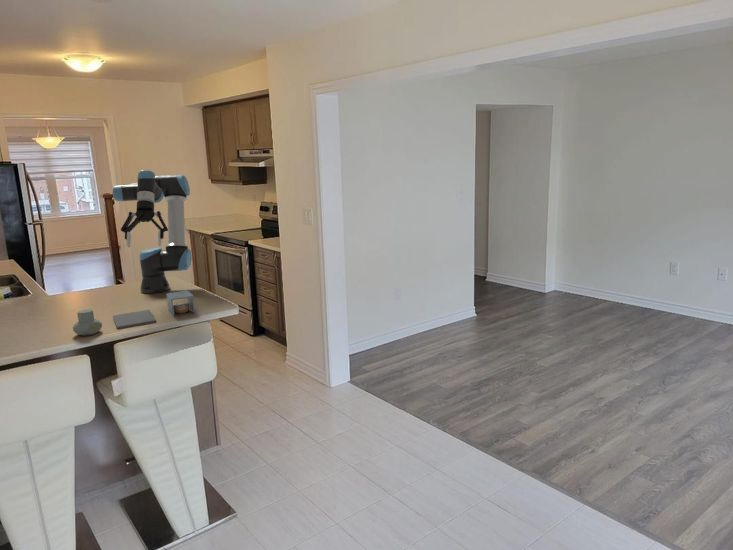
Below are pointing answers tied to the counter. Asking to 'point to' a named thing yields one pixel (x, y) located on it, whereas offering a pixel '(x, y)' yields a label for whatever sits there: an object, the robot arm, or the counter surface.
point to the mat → (133, 319)
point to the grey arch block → (180, 296)
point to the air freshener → (87, 323)
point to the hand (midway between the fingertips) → (144, 246)
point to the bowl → (181, 307)
